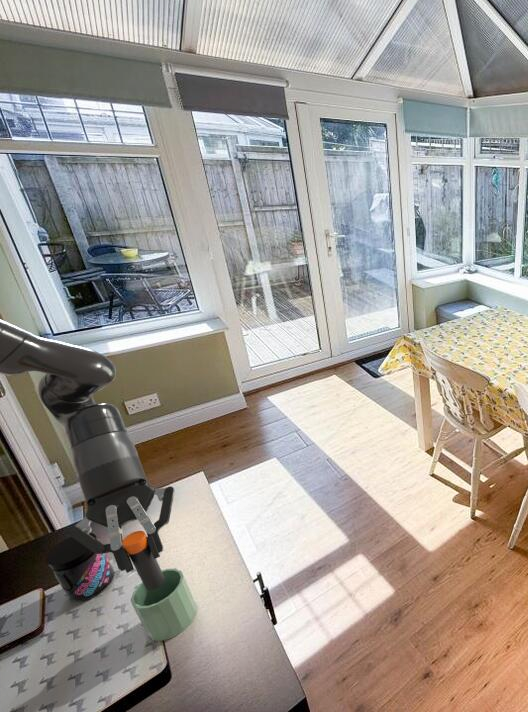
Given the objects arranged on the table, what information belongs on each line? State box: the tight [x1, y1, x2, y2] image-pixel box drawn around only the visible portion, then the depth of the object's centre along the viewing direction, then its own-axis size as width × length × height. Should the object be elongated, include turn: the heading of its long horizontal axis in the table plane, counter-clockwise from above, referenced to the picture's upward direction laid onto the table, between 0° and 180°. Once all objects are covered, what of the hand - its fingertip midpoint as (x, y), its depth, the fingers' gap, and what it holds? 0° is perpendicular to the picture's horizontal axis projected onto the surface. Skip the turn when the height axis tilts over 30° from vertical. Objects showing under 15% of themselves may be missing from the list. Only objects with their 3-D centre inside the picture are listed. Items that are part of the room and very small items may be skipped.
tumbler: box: [130, 567, 198, 642], centre depth 72 cm, size 7×7×9 cm
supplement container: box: [44, 532, 116, 602], centre depth 77 cm, size 7×7×10 cm
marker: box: [122, 530, 165, 591], centre depth 68 cm, size 3×3×11 cm
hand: (144, 563), depth 66 cm, fingers closed on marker, 2 cm apart
